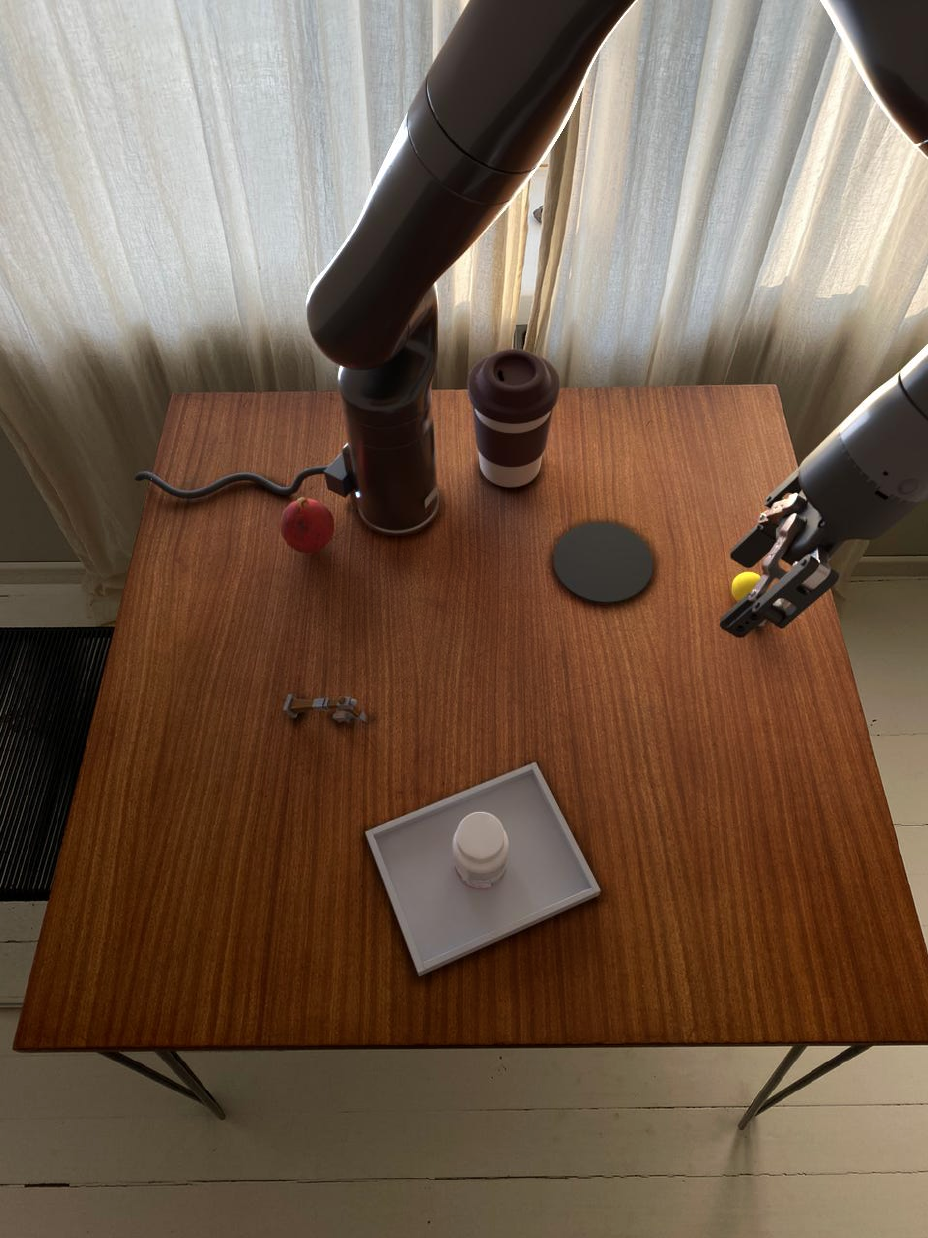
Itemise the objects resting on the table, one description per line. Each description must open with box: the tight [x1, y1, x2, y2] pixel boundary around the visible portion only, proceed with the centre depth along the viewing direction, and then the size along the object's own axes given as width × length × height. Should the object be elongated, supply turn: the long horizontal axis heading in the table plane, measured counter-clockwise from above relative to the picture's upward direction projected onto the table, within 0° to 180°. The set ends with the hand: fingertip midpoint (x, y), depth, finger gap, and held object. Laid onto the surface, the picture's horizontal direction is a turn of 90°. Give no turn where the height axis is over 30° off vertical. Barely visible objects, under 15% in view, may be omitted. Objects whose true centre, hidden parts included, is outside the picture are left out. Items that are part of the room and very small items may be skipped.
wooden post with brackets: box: [282, 693, 369, 724], centre depth 86 cm, size 2×8×4 cm, turn 79°
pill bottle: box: [453, 812, 508, 890], centre depth 75 cm, size 5×5×8 cm
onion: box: [280, 496, 335, 555], centre depth 95 cm, size 6×6×8 cm
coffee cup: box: [467, 348, 561, 488], centre depth 98 cm, size 10×10×15 cm
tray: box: [364, 761, 602, 977], centre depth 78 cm, size 17×13×2 cm
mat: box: [552, 521, 654, 605], centre depth 97 cm, size 11×11×1 cm
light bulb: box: [731, 571, 767, 627], centre depth 92 cm, size 3×6×4 cm, turn 15°
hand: (734, 594), depth 70 cm, fingers open, 8 cm apart
